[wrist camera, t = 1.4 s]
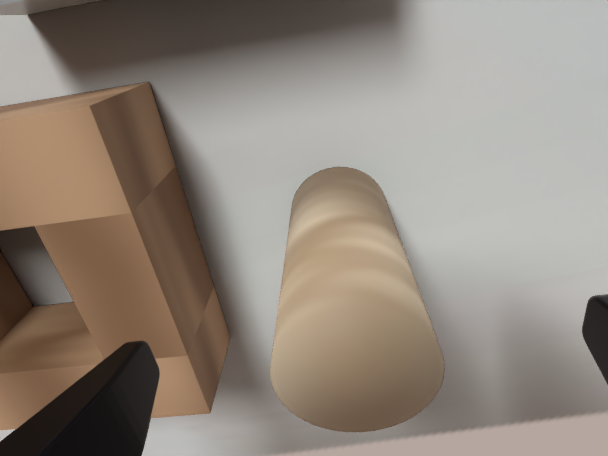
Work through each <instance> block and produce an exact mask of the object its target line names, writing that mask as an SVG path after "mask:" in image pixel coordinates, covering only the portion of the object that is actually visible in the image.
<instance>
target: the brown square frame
mask: <svg viewBox="0 0 608 456" xmlns="http://www.w3.org/2000/svg"><path fill="white" fill-rule="evenodd" d="M31 226H34V227H35V229H36V230H37V232H38V234H39V236H40V238H41V240H42V242H43V244H44V246H45V248H46V250H47V251H48V253H49V255H50V257H51V259H52V261H53V263H54V265H55V267H56V269H57V270H58V272H59V274H60V276H61V278H62V280H63V282H64V284H65V286H66V288H67V290H68V291H69V293H70V295H71V297H72V299H73V301H74V302H70V303H61V304H53V305H44V306H35V307H33V306H32V304H31V302H30V301H29V299H28V297H27V296H26V294H25V292H24V290H23V289H22V287H21V285H20V284H19V282H18V280H17V279H16V277H15V275H14V273H13V272H12V270H11V268H10V267H9V265H8V263H7V262H6V260H5V258H4V256H3V255H2V253H1V251H0V430H9V429H17V428H18V427H20V426H21V425H22V424H23V423H25V422H26V421H27V420H28V419H30V418H31V417H32V416H33V415H35V414H36V413H37V412H38V411H40V410H41V409H42V408H44V407H45V406H46V405H47V404H49V403H50V402H51V401H52V400H54V399H55V398H56V397H57V396H59V395H60V394H61V393H62V392H64V391H65V390H66V389H68V388H69V387H70V386H71V385H73V384H74V383H75V382H76V381H78V380H79V379H80V378H81V377H83V376H84V375H85V374H86V373H88V372H89V371H90V370H92V369H93V368H94V367H95V366H97V365H98V364H99V363H100V362H102V361H103V360H104V359H105V358H107V357H108V356H109V355H110V354H112V353H113V352H114V351H116V350H117V349H118V348H119V347H121V346H122V345H123V344H125V343H126V342H131V341H141V340H143V341H146V342H147V343H148V344H149V346H150V348H151V351H152V353H153V355H154V357H155V360H156V362H157V364H158V366H159V370H160V378H159V383H158V387H157V392H156V396H155V401H154V405H153V410H152V414H151V418H158V417H170V416H182V415H195V414H207V413H210V412H211V409H212V405H213V401H214V397H215V394H216V390H217V386H218V383H219V379H220V375H221V372H222V368H223V364H224V360H225V357H226V353H227V349H228V346H229V342H230V335H229V332H228V329H227V325H226V322H225V319H224V316H223V313H222V310H221V307H220V303H219V300H218V297H217V294H216V291H215V288H214V285H213V281H212V278H211V275H210V272H209V269H208V266H207V263H206V259H205V256H204V253H203V250H202V247H201V244H200V241H199V237H198V234H197V231H196V228H195V225H194V222H193V219H192V215H191V212H190V209H189V206H188V203H187V200H186V197H185V193H184V190H183V187H182V184H181V181H180V178H179V175H178V171H177V168H176V165H175V162H174V159H173V156H172V153H171V149H170V146H169V143H168V140H167V137H166V134H165V131H164V127H163V124H162V121H161V118H160V115H159V112H158V109H157V105H156V102H155V99H154V96H153V93H152V90H151V87H150V83H149V82H144V83H138V84H133V85H127V86H121V87H115V88H109V89H103V90H97V91H91V92H85V93H79V94H73V95H67V96H61V97H55V98H49V99H43V100H37V101H31V102H25V103H19V104H14V105H8V106H2V107H0V231H1V230H9V229H16V228H23V227H31Z"/></svg>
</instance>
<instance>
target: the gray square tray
mask: <svg viewBox="0 0 608 456" xmlns="http://www.w3.org/2000/svg"><path fill="white" fill-rule="evenodd" d="M95 1H100V0H0V15H27V14H32V13H37V12H43V11H48V10H53V9H58V8H63V7H69V6H74V5H79V4H84V3H90V2H95Z"/></svg>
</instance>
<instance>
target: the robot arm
mask: <svg viewBox="0 0 608 456" xmlns="http://www.w3.org/2000/svg"><path fill="white" fill-rule="evenodd" d="M582 333H583V337H584V340H585V342H586V344H587V346H588V348H589V350H590V352H591V354H592V356H593V358H594V360H595V361H596V363H597V365H598V367H599V369H600V371H601V373H602V375H603V377H604V379H605V380H606V382H607V384H608V294H606V295H596V296H593V297H591V298H590V299H589V300H588V303H587V308H586V313H585V317H584V322H583V327H582ZM159 378H160V370H159V366H158V364H157V362H156V360H155V357H154V355H153V353H152V351H151V348H150V346H149V344H148V343H147V342H146V341H143V340H141V341H131V342H126V343H125V344H123V345H122V346H121V347H119V348H118V349H117V350H116V351H114V352H113V353H112V354H110V355H109V356H108V357H107V358H105V359H104V360H103V361H102V362H100V363H99V364H98V365H97V366H95V367H94V368H93V369H92V370H90V371H89V372H88V373H86V374H85V375H84V376H83V377H81V378H80V379H79V380H78V381H76V382H75V383H74V384H73V385H71V386H70V387H69V388H68V389H66V390H65V391H64V392H62V393H61V394H60V395H59V396H57V397H56V398H55V399H54V400H52V401H51V402H50V403H49V404H47V405H46V406H45V407H44V408H42V409H41V410H40V411H38V412H37V413H36V414H35V415H33V416H32V417H31V418H30V419H28V420H27V421H26V422H25V423H23V424H22V425H21V426H20V427H18V428H17V429H16V430H14V431H13V432H12V433H11V434H9V435H8V436H7V437H6V438H4V439H3V440H2V441H1V442H0V456H141V455H142V452H143V449H144V445H145V441H146V437H147V432H148V428H149V423H150V419H151V414H152V410H153V405H154V401H155V396H156V392H157V387H158V383H159Z"/></svg>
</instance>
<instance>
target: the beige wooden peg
mask: <svg viewBox="0 0 608 456" xmlns="http://www.w3.org/2000/svg"><path fill="white" fill-rule="evenodd" d="M444 369H445V368H444V359H443V356H442V352H441V349H440V347H439V344H438V341H437V338H436V336H435V333H434V330H433V327H432V325H431V322H430V319H429V316H428V314H427V311H426V308H425V305H424V303H423V300H422V297H421V294H420V292H419V289H418V286H417V284H416V281H415V278H414V275H413V273H412V270H411V267H410V264H409V262H408V259H407V256H406V253H405V251H404V248H403V245H402V242H401V240H400V237H399V234H398V231H397V229H396V226H395V223H394V221H393V218H392V215H391V212H390V210H389V207H388V204H387V201H386V199H385V196H384V194H383V191H382V189H381V188H380V186H379V185H378V184H377V183H376V181H375V180H374V179H372V178H371V177H370V176H369V175H367V174H365V173H364V172H361V171H359V170H356V169H353V168H348V167H332V168H328V169H324V170H321V171H319V172H317V173H315V174H313V175H312V176H310V177H309V178H308V179H306V180H305V181H304V182H303V183H302V184H301V186H300V187H299V189H298V190H297V192H296V194H295V196H294V199H293V202H292V208H291V216H290V223H289V231H288V238H287V246H286V253H285V261H284V268H283V276H282V283H281V290H280V298H279V305H278V313H277V320H276V328H275V335H274V343H273V350H272V358H271V365H270V378H271V383H272V386H273V389H274V391H275V393H276V395H277V397H278V398H279V400H280V401H281V402H282V403H283V405H284V406H285V407H286V408H287V409H288V410H290V411H291V412H292V413H293V414H295V415H296V416H298V417H299V418H301V419H303V420H304V421H306V422H309V423H311V424H313V425H316V426H319V427H322V428H326V429H330V430H335V431H342V432H367V431H375V430H380V429H384V428H388V427H391V426H394V425H397V424H399V423H402V422H404V421H406V420H408V419H410V418H412V417H413V416H415V415H416V414H418V413H419V412H421V411H422V410H423V409H424V408H425V407H426V406H427V405H428V404H429V403H430V402H431V401H432V400H433V399H434V397H435V396H436V394H437V393H438V391H439V389H440V387H441V385H442V381H443V378H444Z"/></svg>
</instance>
